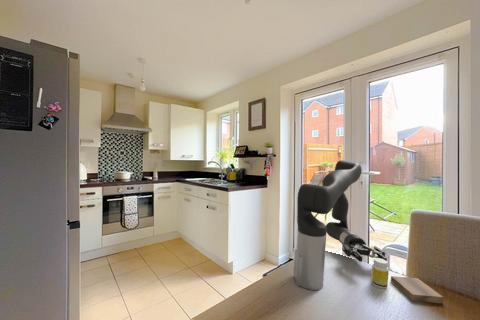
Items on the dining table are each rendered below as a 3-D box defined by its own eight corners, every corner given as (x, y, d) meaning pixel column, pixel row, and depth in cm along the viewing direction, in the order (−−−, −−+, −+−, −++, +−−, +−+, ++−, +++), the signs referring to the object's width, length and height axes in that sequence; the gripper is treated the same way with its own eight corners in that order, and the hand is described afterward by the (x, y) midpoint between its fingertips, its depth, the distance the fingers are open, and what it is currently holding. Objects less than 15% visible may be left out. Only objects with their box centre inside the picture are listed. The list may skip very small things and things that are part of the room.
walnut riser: (412, 300, 65) (412, 294, 65) (390, 281, 75) (391, 276, 75) (442, 303, 65) (443, 297, 65) (417, 283, 75) (417, 278, 75)
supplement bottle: (390, 290, 70) (391, 265, 70) (374, 287, 71) (376, 262, 71) (383, 281, 75) (385, 258, 75) (368, 279, 76) (370, 256, 76)
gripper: (336, 232, 93) (354, 248, 77) (369, 235, 93) (394, 251, 76) (335, 249, 93) (352, 268, 77) (368, 252, 93) (393, 272, 77)
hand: (373, 260), depth 77 cm, fingers open, 8 cm apart
